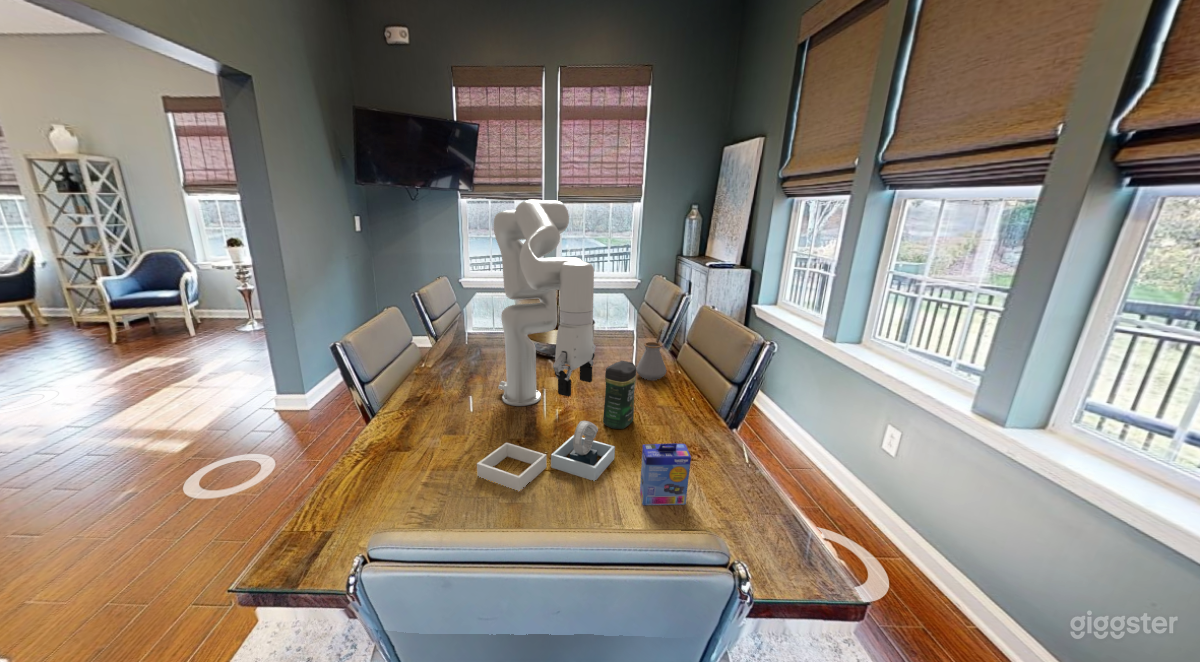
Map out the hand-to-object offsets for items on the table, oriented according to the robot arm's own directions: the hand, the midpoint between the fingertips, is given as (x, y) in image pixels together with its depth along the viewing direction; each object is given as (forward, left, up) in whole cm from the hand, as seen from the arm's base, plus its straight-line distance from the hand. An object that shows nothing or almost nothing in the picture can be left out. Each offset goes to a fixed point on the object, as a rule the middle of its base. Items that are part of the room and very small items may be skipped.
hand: (575, 387), depth 105 cm
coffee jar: (+1, +26, -21) cm, 33 cm away
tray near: (-11, -10, -20) cm, 25 cm away
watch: (+2, +2, -21) cm, 21 cm away
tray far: (+2, +2, -20) cm, 21 cm away
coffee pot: (-4, +71, -21) cm, 74 cm away
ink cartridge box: (+24, -2, -21) cm, 32 cm away
